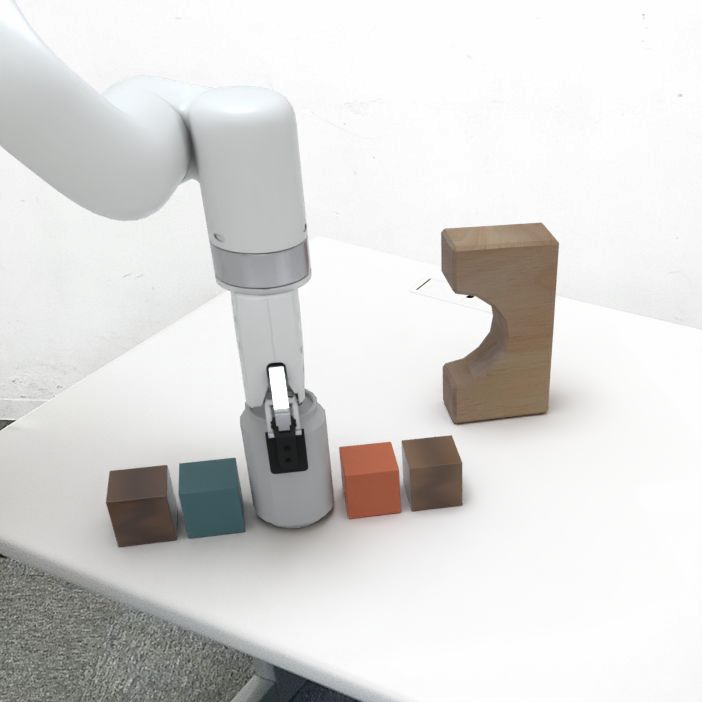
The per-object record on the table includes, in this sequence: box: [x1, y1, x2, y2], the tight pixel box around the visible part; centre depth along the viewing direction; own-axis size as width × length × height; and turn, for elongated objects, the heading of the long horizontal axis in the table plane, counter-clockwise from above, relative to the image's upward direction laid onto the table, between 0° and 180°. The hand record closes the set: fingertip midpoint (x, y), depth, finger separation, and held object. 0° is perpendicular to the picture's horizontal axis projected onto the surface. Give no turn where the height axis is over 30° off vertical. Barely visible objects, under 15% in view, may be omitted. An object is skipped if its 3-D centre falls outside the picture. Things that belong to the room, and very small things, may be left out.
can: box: [239, 388, 335, 529], centre depth 88 cm, size 8×8×12 cm
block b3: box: [338, 441, 402, 520], centre depth 92 cm, size 5×5×5 cm
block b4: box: [401, 434, 463, 512], centre depth 94 cm, size 5×5×5 cm
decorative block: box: [440, 222, 560, 424], centre depth 103 cm, size 11×6×20 cm, turn 106°
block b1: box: [105, 464, 178, 548], centre depth 87 cm, size 5×5×5 cm
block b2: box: [178, 457, 246, 539], centre depth 89 cm, size 5×5×5 cm
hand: (285, 441), depth 87 cm, fingers open, 9 cm apart
